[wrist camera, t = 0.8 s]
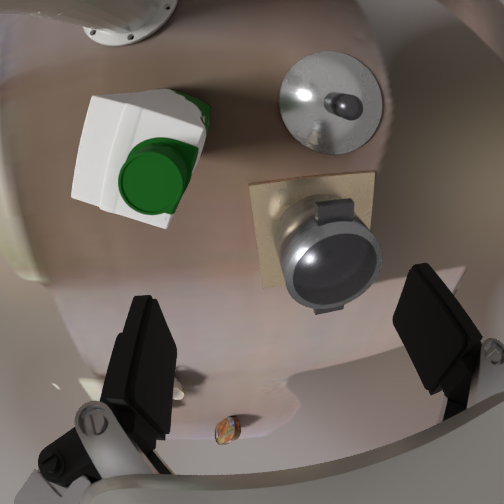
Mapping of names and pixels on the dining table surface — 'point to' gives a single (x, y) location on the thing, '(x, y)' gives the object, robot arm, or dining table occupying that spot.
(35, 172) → the dining table surface
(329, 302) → the pot
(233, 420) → the tin
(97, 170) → the soya milk
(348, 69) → the lid
